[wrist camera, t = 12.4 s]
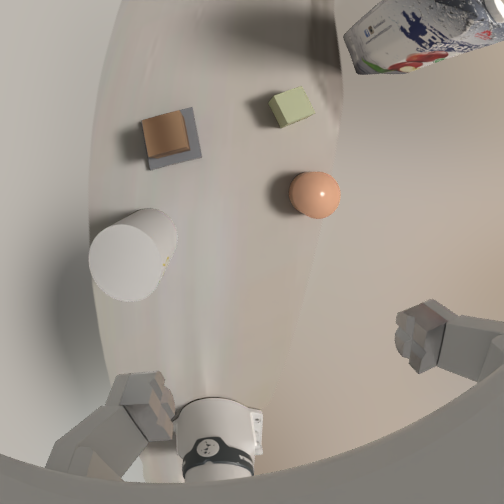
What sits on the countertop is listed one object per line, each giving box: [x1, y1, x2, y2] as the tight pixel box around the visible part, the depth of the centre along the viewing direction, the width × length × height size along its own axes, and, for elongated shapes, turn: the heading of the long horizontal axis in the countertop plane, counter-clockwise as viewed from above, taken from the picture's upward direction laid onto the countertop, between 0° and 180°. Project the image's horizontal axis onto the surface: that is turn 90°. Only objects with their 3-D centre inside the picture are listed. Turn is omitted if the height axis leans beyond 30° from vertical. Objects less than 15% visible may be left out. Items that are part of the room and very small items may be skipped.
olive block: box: [268, 86, 315, 128], centre depth 33 cm, size 4×4×4 cm
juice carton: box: [343, 0, 504, 75], centre depth 20 cm, size 9×10×27 cm
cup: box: [88, 208, 178, 302], centre depth 32 cm, size 8×8×12 cm
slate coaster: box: [141, 107, 202, 170], centre depth 34 cm, size 7×7×1 cm
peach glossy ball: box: [289, 172, 340, 219], centre depth 37 cm, size 6×6×4 cm
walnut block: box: [142, 110, 190, 159], centre depth 31 cm, size 4×4×5 cm
